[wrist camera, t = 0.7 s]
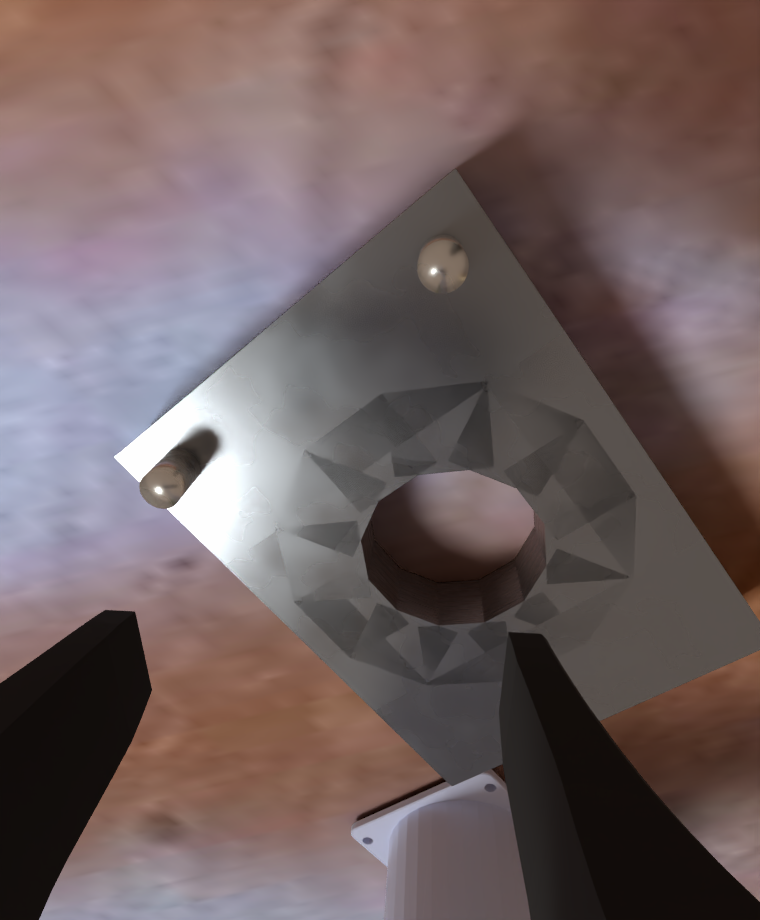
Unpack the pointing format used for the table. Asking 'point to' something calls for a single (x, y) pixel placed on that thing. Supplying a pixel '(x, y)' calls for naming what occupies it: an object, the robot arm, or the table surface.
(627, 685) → the jig
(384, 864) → the robot arm
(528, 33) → the table surface
